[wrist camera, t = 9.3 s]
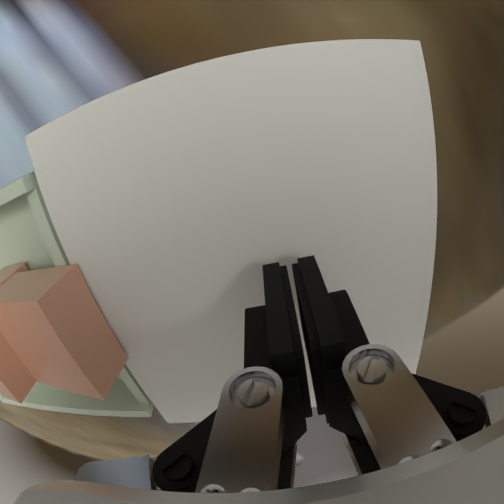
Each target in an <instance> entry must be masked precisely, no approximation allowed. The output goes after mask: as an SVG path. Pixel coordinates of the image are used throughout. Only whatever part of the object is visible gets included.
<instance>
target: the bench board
mask: <svg viewBox="0 0 504 504" xmlns="http://www.w3.org/2000/svg"><path fill="white" fill-rule="evenodd" d="M25 140H26V144H27V148H28V152H29V155H30V159H31V162H32V165H33V169H34V172H35V175H36V178H37V181H38V184H39V187H40V190H41V193H42V196H43V199H44V202H45V204H46V207H47V210H48V213H49V215H50V218H51V220H52V223H53V225H54V228H55V230H56V233H57V235H58V238H59V240H60V242H61V245H62V247H63V249H64V252H65V254H66V256H67V258H68V260H69V263H70V264H77V265H78V267H79V270H80V272H81V274H82V276H83V278H84V280H85V282H86V284H87V286H88V288H89V290H90V292H91V294H92V296H93V298H94V300H95V302H96V304H97V306H98V307H99V309H100V311H101V313H102V315H103V317H104V318H105V320H106V322H107V324H108V326H109V327H110V329H111V331H112V333H113V334H114V336H115V338H116V339H117V341H118V343H119V344H120V346H121V348H122V349H123V351H124V353H125V354H126V356H127V357H128V360H127V361H126V363H125V364H126V366H127V367H128V369H129V370H130V372H131V373H132V375H133V376H134V378H135V379H136V380H137V382H138V383H139V385H140V386H141V388H142V389H143V391H144V392H145V393H146V395H147V396H148V398H149V399H150V400H151V402H152V403H153V404H154V406H155V407H156V408H157V410H158V411H159V412H160V414H161V415H162V416H163V418H164V419H165V420H166V421H167V423H189V422H201V421H203V420H204V419H205V418H206V417H208V416H209V415H210V414H211V413H212V412H214V411H215V410H216V409H217V408H218V404H219V400H220V396H221V392H222V389H223V387H224V384H225V382H226V381H227V380H228V379H229V378H230V376H232V375H233V374H235V373H236V372H238V371H239V370H242V369H244V323H245V309H246V308H251V307H256V306H262V305H265V296H264V282H263V268H262V265H265V264H270V263H276V262H279V265H280V266H284V265H286V266H287V271H288V276H289V281H290V285H291V290H292V295H293V300H294V305H295V310H296V315H297V320H298V325H299V330H300V335H301V341H302V346H303V352H304V358H305V365H306V372H307V379H308V386H309V393H310V401H311V408H313V407H317V405H316V400H315V394H314V389H313V384H312V378H311V373H310V368H309V363H308V358H307V353H306V347H305V342H304V338H303V332H302V326H301V320H300V313H299V307H298V301H297V295H296V288H295V282H294V276H293V270H292V264H294V263H298V262H297V258H302V257H307V256H312V255H314V257H315V259H316V262H317V264H318V267H319V270H320V272H321V275H322V277H323V280H324V283H325V285H326V288H327V291H328V293H330V292H335V291H339V290H344V289H345V290H346V291H347V293H348V295H349V297H350V300H351V302H352V304H353V306H354V308H355V311H356V313H357V315H358V317H359V320H360V322H361V324H362V327H363V329H364V331H365V334H366V336H367V338H368V341H369V343H370V344H379V345H384V346H387V347H389V348H391V349H393V350H394V351H395V352H396V353H397V354H398V355H399V357H400V358H401V359H402V361H403V362H404V364H405V365H406V366H407V368H408V369H409V371H410V372H411V373H413V374H416V369H417V365H418V361H419V357H420V352H421V347H422V343H423V337H424V332H425V327H426V321H427V315H428V309H429V302H430V295H431V287H432V279H433V269H434V259H435V246H436V228H437V163H436V145H435V133H434V122H433V113H432V105H431V98H430V91H429V84H428V78H427V73H426V67H425V62H424V57H423V53H422V48H421V44H420V41H416V40H397V39H351V40H332V41H319V42H308V43H299V44H291V45H283V46H276V47H270V48H264V49H258V50H252V51H247V52H242V53H237V54H233V55H228V56H224V57H219V58H215V59H211V60H207V61H203V62H199V63H196V64H192V65H189V66H185V67H182V68H178V69H175V70H172V71H169V72H166V73H163V74H159V75H157V76H154V77H151V78H148V79H145V80H142V81H139V82H137V83H134V84H131V85H129V86H126V87H124V88H121V89H119V90H116V91H114V92H111V93H109V94H107V95H104V96H102V97H100V98H98V99H95V100H93V101H91V102H89V103H87V104H84V105H82V106H80V107H78V108H76V109H74V110H72V111H70V112H68V113H66V114H64V115H62V116H60V117H58V118H56V119H55V120H53V121H51V122H49V123H47V124H45V125H44V126H42V127H40V128H38V129H37V130H35V131H33V132H31V133H30V134H28V135H26V136H25Z"/></svg>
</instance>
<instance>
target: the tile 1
mask: <svg viewBox="0 0 504 504" xmlns="http://www.w3.org/2000/svg"><path fill="white" fill-rule="evenodd" d="M23 271H28V269H27V267H26V265H25V263H22V264H17V265H12V266H7V267H3V268H2V269H1V270H0V285H2V284H3V283H4V282H5V281H6V280H7V279H8V278H10V277H11V276H12V275H13V274H14V273H16V272H23ZM36 382H37V381H36V379H35V378H34V377H33V376H32V374H31V373H30V372H29V371H28V369H27V368H26V367H25V365H24V364H23V363H22V361H21V360H20V359H19V357H18V356H17V354H16V353H15V352H14V350H13V349H12V347H11V346H10V344H9V343H8V341H7V340H6V338H5V337H4V335H3V334H2V332H1V331H0V394H2V395H4V396H6V397H8V398H10V399H12V400H14V401H16V402H18V403H20V404H21V403H22V402H23V400H24V399H25V397H26V396H27V394H28V393H29V392H30V390H31V389H32V387H33V386H34V384H35V383H36Z"/></svg>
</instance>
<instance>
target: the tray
mask: <svg viewBox="0 0 504 504" xmlns="http://www.w3.org/2000/svg"><path fill="white" fill-rule="evenodd" d="M22 263H25V265H26V267H27V269H28V271H30V270H36V269H43V268H50V267H57V266H63V265H70V263H69V260H68V258H67V256H66V254H65V252H64V249H63V247H62V245H61V242H60V240H59V238H58V235H57V233H56V230H55V228H54V225H53V223H52V220H51V218H50V215H49V213H48V210H47V207H46V204H45V202H44V199H43V196H42V193H41V190H40V187H39V184H38V181H37V178H36V175H35V172H32V173H30V174H28V175H25V176H23V177H21V178H19V179H17V180H16V181H14V182H12V183H10V184H8V185H7V186H5V187H3V188H2V189H0V270H1V269H2V268H3V267H7V266H12V265H17V264H22ZM0 400H1V401H2V402H3V403H8V404H13V405H18V406H23V407H29V408H35V409H42V410H49V411H56V412H65V413H74V414H85V415H98V416H116V417H152V412H153V408H154V404H153V403H152V402H151V400H150V399H149V398H148V396H147V395H146V393H145V392H144V391H143V389H142V388H141V386H140V385H139V383H138V382H137V380H136V379H135V378H134V376H133V375H132V373H131V372H130V370H129V369H128V367H127V366H126V364H125V365H124V366H123V368H122V370H121V372H120V373H119V375H118V377H117V379H116V380H115V382H114V384H113V386H112V387H111V389H110V391H109V393H108V394H107V396H106V398H105V400H103V399H98V398H94V397H90V396H85V395H81V394H77V393H74V392H70V391H66V390H62V389H59V388H55V387H52V386H49V385H45V384H42V383H39V382H36V383H35V384H34V386H33V387H32V389H31V390H30V392H29V393H28V394H27V396H26V397H25V399H24V400H23V402H22V403H21V404H20V403H18V402H16V401H14V400H12V399H10V398H8V397H6V396H4V395H2V394H0Z"/></svg>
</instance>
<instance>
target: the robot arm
mask: <svg viewBox="0 0 504 504" xmlns="http://www.w3.org/2000/svg"><path fill="white" fill-rule="evenodd" d="M297 262H298V263H294V264H292V270H293V276H294V282H295V288H296V295H297V301H298V307H299V313H300V320H301V326H302V332H303V338H304V342H305V347H306V353H307V358H308V363H309V368H310V373H311V378H312V384H313V389H314V394H315V400H316V405H317V411H318V415H322V414H325V416H326V421H327V423H329V425H330V427H332V428H334V429H336V430H338V431H340V432H342V437H343V440H344V442H345V444H346V447H347V449H348V451H349V454H350V456H351V459H352V461H353V464H354V466H355V468H356V471H357V473H358V476H355V477H351V478H347V479H342V480H338V481H333V482H327V483H322V484H317V485H311V486H305V487H298V488H294V477H295V465H296V453H297V440H298V439H299V438H300V437H301V436H302V435H303V434H304V433H305V432H306V431H307V429H306V419H305V418H307V417H312V408H311V401H310V393H309V386H308V379H307V372H306V365H305V358H304V352H303V346H302V341H301V335H300V330H299V325H298V320H297V315H296V310H295V305H294V300H293V295H292V290H291V285H290V281H289V276H288V271H287V266H286V265H284V266H280V265H279V262H276V263H270V264H265V265H262V268H263V282H264V296H265V305H262V306H256V307H251V308H246V309H245V323H244V369H242V370H239V371H238V372H236V373H235V374H233V375H232V376H230V378H229V379H228V380H227V381H226V382H225V384H224V387H223V389H222V392H221V396H220V400H219V404H218V408H217V409H216V410H215V411H214V412H212V413H211V414H210V415H209V416H208V417H206V418H205V419H204V420H203V421H201V422H200V423H199V424H198V425H196V426H195V427H194V428H193V429H191V430H190V431H189V432H188V433H186V434H185V435H184V436H183V437H181V438H180V439H179V440H177V441H176V442H175V443H173V444H172V445H171V446H169V447H168V448H167V449H165V450H164V451H163V452H162V453H161V454H160V455H159V456H158V457H154V458H151V457H150V456H149V455H147V456H140V457H133V458H125V459H116V460H106V461H93V462H89V463H86V464H85V465H83V466H82V467H81V468H80V469H79V471H78V472H77V474H76V478H75V481H73V480H72V481H71V480H62V481H52V482H46V483H41V484H38V485H34V486H31V487H29V488H27V489H26V490H24V491H23V492H21V493H20V495H19V496H18V497H17V499H16V500H15V502H14V504H504V387H500V388H496V389H492V390H488V391H483V392H482V394H481V395H480V396H475V395H473V394H471V393H469V392H466V391H463V390H460V389H456V388H454V387H451V386H448V385H444V384H442V383H439V382H436V381H433V380H430V379H427V378H424V377H421V376H418V375H415V374H413V373H411V372H410V371H409V369H408V368H407V366H406V365H405V364H404V362H403V361H402V359H401V358H400V357H399V355H398V354H397V353H396V352H395V351H394V350H393V349H391V348H389V347H387V346H384V345H379V344H370V343H369V341H368V338H367V336H366V334H365V331H364V329H363V327H362V324H361V322H360V320H359V317H358V315H357V313H356V311H355V308H354V306H353V304H352V302H351V300H350V297H349V295H348V293H347V291H346V290H345V289H344V290H339V291H335V292H330V293H328V291H327V288H326V285H325V283H324V280H323V277H322V275H321V272H320V270H319V267H318V264H317V262H316V259H315V257H314V255H312V256H307V257H302V258H297Z"/></svg>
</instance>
